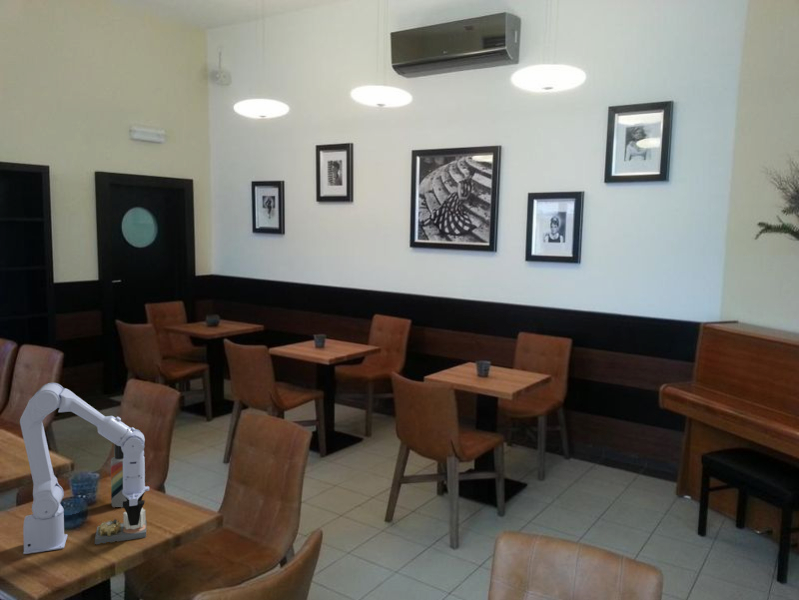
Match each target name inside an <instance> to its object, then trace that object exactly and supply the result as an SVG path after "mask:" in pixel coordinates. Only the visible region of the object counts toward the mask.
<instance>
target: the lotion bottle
mask: <svg viewBox="0 0 799 600" xmlns="http://www.w3.org/2000/svg"><path fill="white" fill-rule="evenodd" d="M113 456H114V457H111V459H110V485H111V486H110V489H111V491H110V493H111V494H110V495H111V496H110V499H111V503H110V504H111V506H112V508H115V507H121V508H124V507H123V501H127V500H126V498H125V496H124V495H123V494H122V490H123V458H124V453H123V452H122V449H121V446H117V445H116V444H114V445H113Z"/></svg>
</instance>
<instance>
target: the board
mask: <svg viewBox="0 0 799 600" xmlns="http://www.w3.org/2000/svg"><path fill="white" fill-rule="evenodd" d="M142 538H147V520H146V519H145V524H143V527H139V528H136V529H126V527H124V522H121V531H118V533H117V534H112V535H111V536H107V535H103V536H100V534H98V526H97V527H96V532H95V536H94V545H95V544H96V545H101V544H100V543H103V544H107V543H106V542H110V543H116V542H115V541H117V542H123V541H129V540H134V539H135V540H136V539H142Z"/></svg>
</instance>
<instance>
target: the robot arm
mask: <svg viewBox="0 0 799 600" xmlns="http://www.w3.org/2000/svg"><path fill="white" fill-rule="evenodd" d="M57 409H58V412H57V413H67V412H71V413H73V414H75V415H77V416H78V417H80V418H81V419H84V420H85V421H87V422H89V423H90V424H92V425H94V426H95V427H96V428H97V433H98V434H99V435H100V436H102V437H103V438H105V439H106V440H108V441H110V442H111V443H113V444H114V445H115V444H116V445H117V446H121V449H122V452H123V453H124V458H123V490H122V494H123V495H124V496H125V498H126V500H127V501H123V507H122V508H123V509H124V510H125V512H126V513H127V516H128V520H129V524H130V526H133V525H138V523H139V518H140V513H141V509H142V508H144V507H143V506H144V505H145V502H146V501H145V500H144V499H143V497H144V495H145V493H146V492H149V491H150V486H148V485H147V486H146V482H145V481H146V478H145V477H146V473H145V472H146V469H145V468H146V467H145V465H146V464H145V460H146V459H145V458H146V457H145V447H146V446H145V441H146V439H145V435H144V433H143V432H141V430H139V429H136V428H135V427H133V426H132V427H130V426H128V425H127V424H125V422H123V421H122V418H121V417H120V416H116V417H115V416H113V415H107V416H105V414H102V413H101V412H99V410H98V409H95V408H94V406H91V405H90V404H88V403H87V402H86V401H85V400H83V399H82V398H81V397H80V396H78V395H76V394H75V393H74V392H73V391H71V390H70V389H68V388H65V387H63V386H62V385H61V384H60V383H57V382H49V383H45V384H44V385H42V386H41V388H39V389H38V390H37V391H36V393H34V394H33V396H32V397H31V398H30V399H28V402H27V405H26V407H25V409H24V410H23V412H22V415H21V417H20V419H19V424H20V429H21V434H22V438H23V442H24V446H25V451H26V455H27V461H28V465H29V469H30V474H31V477H32V484H33V487H32V488H33V489H32V497H33V502H32V505H31V511H32V514H30V515H25V517H24V520H23V526H22V527H23V528H22V530H23V555H27V554H35V553H43V552H49V551H55V550H62V549H64V548H65V546H66V541H67V539H68V534H67V533H65V517H64V514H65V513H64V512H65V510H64V507H63V506H62V504H61V502H62V501H63V498H64V495H65V493H64V491H65V490H64V489H63V487H62V486H61V485H60V484H59V482H58V478H57V476H56V475H55V473H54V469H53V465H52V459H51V456H50V451H49V446H48V441H47V436H46V432H45V427H44V424H43V421H44V419H45V418H46V417H47V416H48V415H50V414H51V413H53V412H55V411H56V410H57Z"/></svg>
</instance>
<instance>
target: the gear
mask: <svg viewBox="0 0 799 600" xmlns="http://www.w3.org/2000/svg"><path fill="white" fill-rule="evenodd" d="M121 524H122V522H120V520H117V519H116V518H115V519H113V520H112V519H109V520H108V521H106V522H105V521H104V522H101V524H100V525H98V526H97V527H98V534H100V536H103V535H107V536H111V535H112V534H117V533H118V531H121Z"/></svg>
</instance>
